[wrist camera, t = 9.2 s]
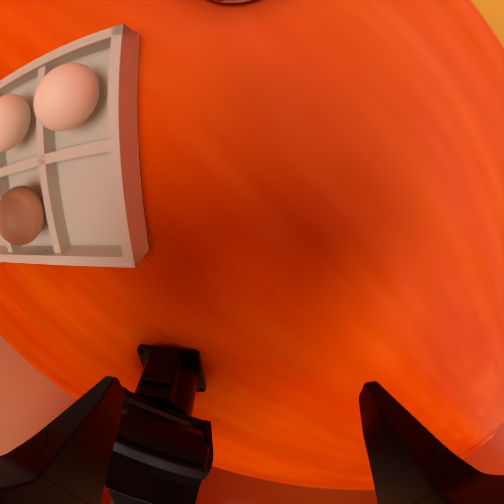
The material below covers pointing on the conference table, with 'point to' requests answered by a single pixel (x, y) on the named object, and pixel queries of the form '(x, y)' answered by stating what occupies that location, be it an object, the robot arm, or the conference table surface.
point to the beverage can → (231, 1)
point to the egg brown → (21, 215)
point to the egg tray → (83, 161)
